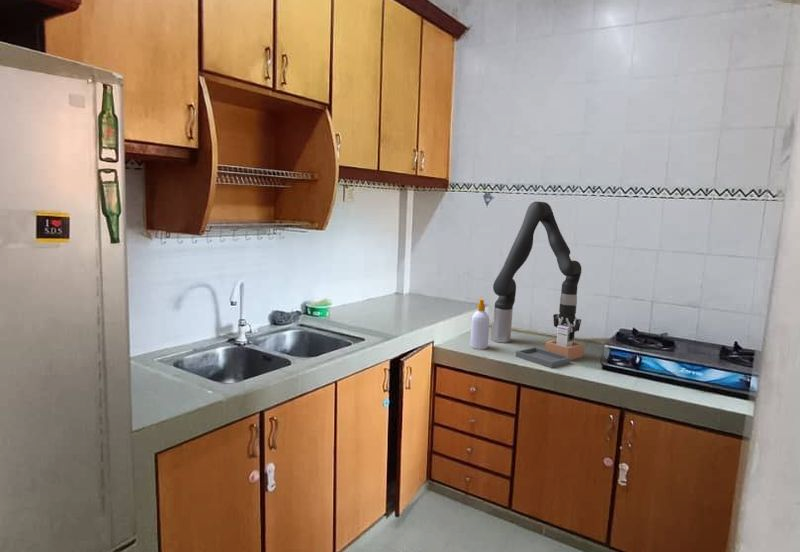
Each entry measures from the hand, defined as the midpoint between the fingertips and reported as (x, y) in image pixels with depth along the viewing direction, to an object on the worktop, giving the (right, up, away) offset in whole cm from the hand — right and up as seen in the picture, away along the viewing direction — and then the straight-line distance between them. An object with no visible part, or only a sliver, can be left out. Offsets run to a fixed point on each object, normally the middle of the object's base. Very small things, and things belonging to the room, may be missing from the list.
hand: (565, 337), depth 247 cm
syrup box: (0, -9, +1) cm, 9 cm away
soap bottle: (-39, -6, +11) cm, 41 cm away
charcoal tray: (-13, -9, -7) cm, 17 cm away
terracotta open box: (0, -9, +1) cm, 9 cm away
